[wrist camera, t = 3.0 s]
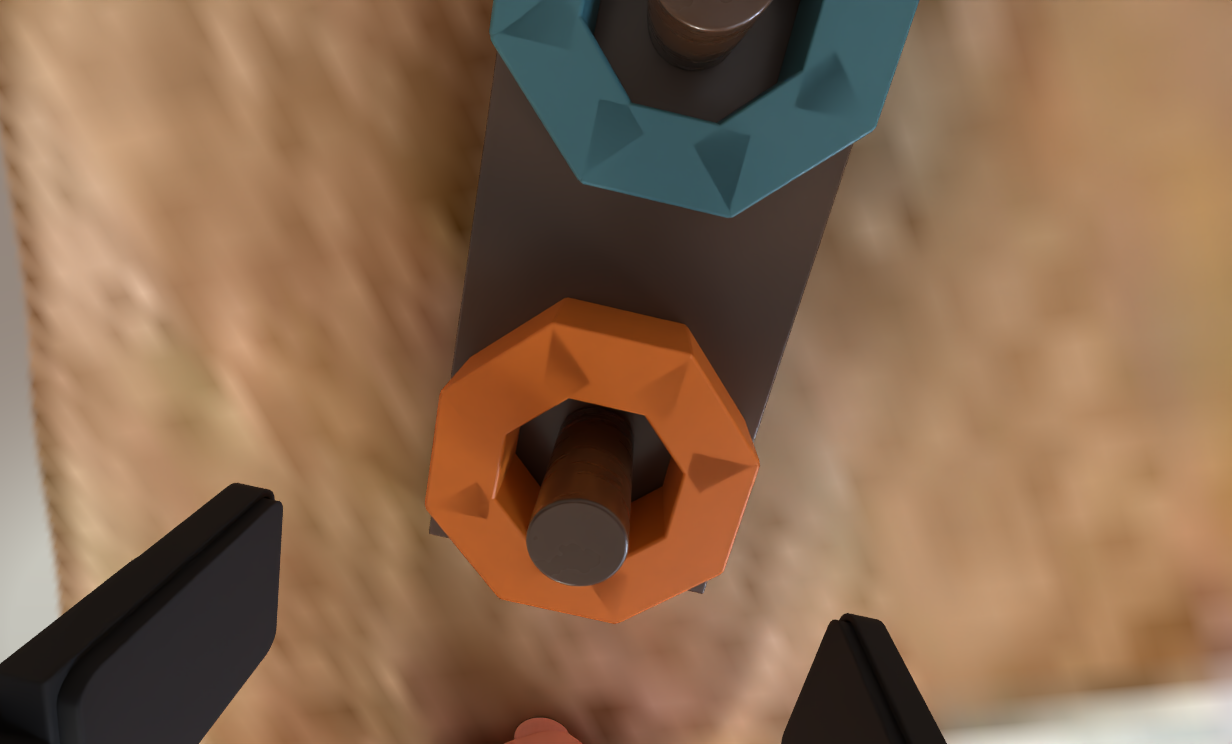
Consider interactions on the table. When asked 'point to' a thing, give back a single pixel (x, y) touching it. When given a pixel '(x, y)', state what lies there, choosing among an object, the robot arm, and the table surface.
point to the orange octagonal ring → (608, 376)
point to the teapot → (542, 733)
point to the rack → (637, 261)
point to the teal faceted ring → (695, 148)
